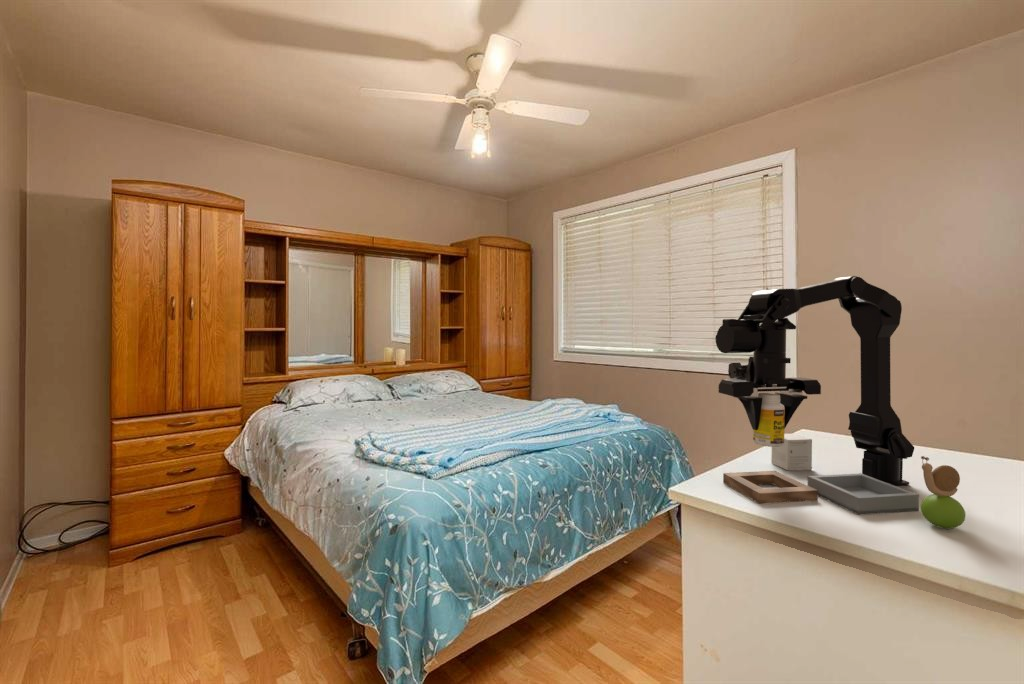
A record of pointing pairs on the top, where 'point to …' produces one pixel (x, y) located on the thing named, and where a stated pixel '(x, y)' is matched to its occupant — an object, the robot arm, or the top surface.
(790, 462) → the product box
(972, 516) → the top surface
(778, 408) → the supplement bottle
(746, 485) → the wooden rectangular frame
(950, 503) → the snail figurine
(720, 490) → the top surface
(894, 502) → the parts tray
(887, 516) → the top surface
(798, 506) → the top surface
